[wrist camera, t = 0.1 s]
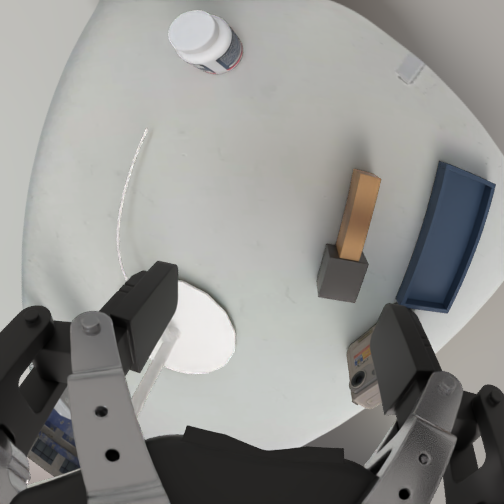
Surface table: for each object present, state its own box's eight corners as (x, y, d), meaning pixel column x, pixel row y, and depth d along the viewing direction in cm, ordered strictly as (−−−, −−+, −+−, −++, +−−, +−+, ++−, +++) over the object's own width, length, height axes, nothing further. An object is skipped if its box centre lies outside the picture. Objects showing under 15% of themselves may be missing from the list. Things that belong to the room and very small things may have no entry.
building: (51, 404, 67) (20, 451, 46) (56, 380, 58) (14, 439, 37) (108, 444, 71) (83, 495, 50) (126, 429, 61) (95, 495, 40)
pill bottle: (238, 27, 23) (217, -5, 15) (248, 67, 25) (230, 45, 17) (191, 40, 25) (156, 16, 17) (200, 80, 27) (166, 66, 19)
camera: (399, 295, 34) (424, 347, 25) (421, 317, 35) (445, 367, 26) (337, 346, 38) (344, 402, 29) (362, 363, 39) (371, 416, 30)
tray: (438, 160, 26) (446, 163, 24) (487, 180, 26) (496, 184, 24) (395, 298, 34) (399, 307, 32) (442, 305, 33) (447, 313, 32)
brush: (343, 166, 28) (350, 171, 25) (381, 175, 28) (392, 181, 25) (316, 280, 34) (318, 297, 31) (350, 286, 34) (355, 303, 31)
